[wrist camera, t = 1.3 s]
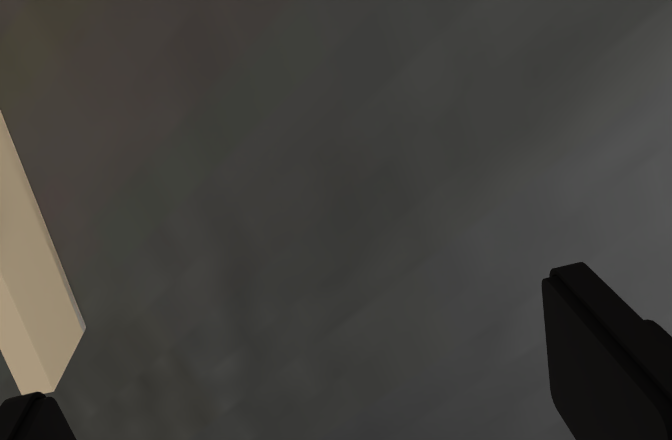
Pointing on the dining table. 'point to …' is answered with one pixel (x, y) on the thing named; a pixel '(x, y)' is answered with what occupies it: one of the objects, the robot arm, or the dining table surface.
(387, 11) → the dining table surface
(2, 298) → the corner arena
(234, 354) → the dining table surface
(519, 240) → the dining table surface
